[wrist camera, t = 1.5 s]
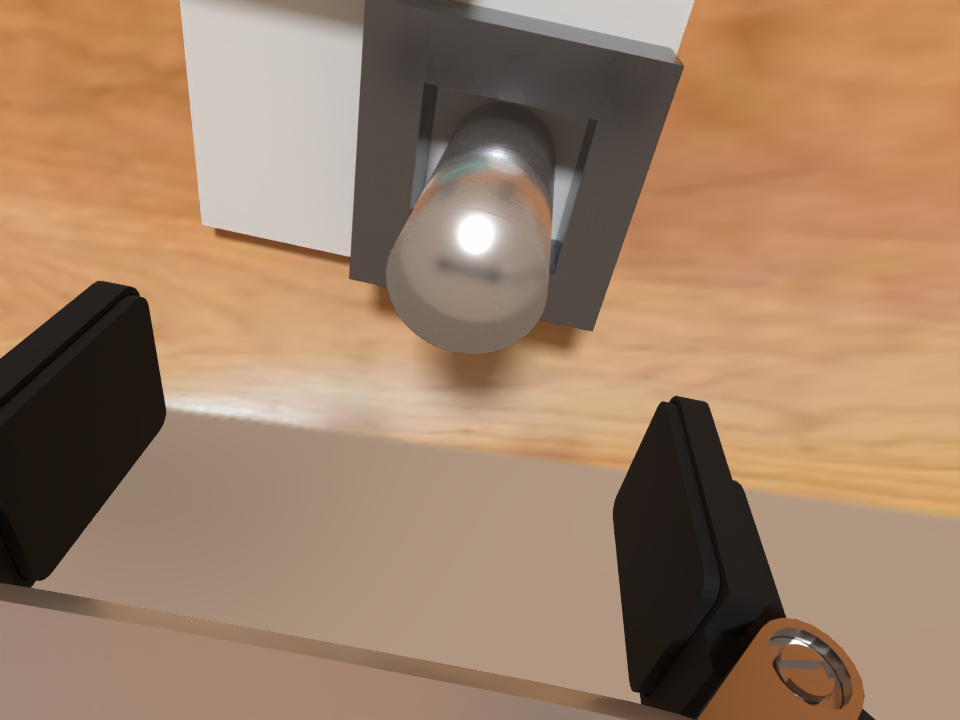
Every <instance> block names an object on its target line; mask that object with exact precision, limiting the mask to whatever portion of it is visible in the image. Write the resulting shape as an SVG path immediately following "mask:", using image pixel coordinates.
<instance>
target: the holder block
mask: <svg viewBox="0 0 960 720" xmlns="http://www.w3.org/2000/svg"><path fill="white" fill-rule="evenodd" d="M683 68H684V65H683V63H682V62H681V61H680V59H679V58H678V57H677V55H676V54H675V53H674V51H673V50H672V49H671V48H669V47H664V46H659V45H655V44H650V43H646V42H641V41H637V40H632V39H628V38H623V37H618V36H614V35H609V34H605V33H600V32H596V31H591V30H587V29H582V28H577V27H573V26H568V25H564V24H559V23H555V22H550V21H546V20H541V19H536V18H532V17H527V16H523V15H518V14H514V13H509V12H505V11H500V10H495V9H491V8H486V7H482V6H477V5H473V4H468V3H464V2H459V1H454V0H365V9H364V26H363V44H362V61H361V79H360V96H359V114H358V131H357V149H356V166H355V184H354V201H353V219H352V237H351V254H350V272H349V279H352V280H357V281H361V282H366V283H371V284H375V285H380V286H384V287H387V284H386V268H387V262H388V258H389V255H390V252H391V250H392V248H393V246H394V244H395V242H396V241H397V239H398V237H399V235H400V233H401V231H402V229H403V228H404V226H405V224H406V222H407V220H408V218H409V216H410V215H411V213H412V211H413V209H414V207H415V205H416V203H417V201H418V200H419V198H420V196H421V194H422V192H423V190H424V188H425V183H426V175H427V168H428V160H429V152H430V144H431V136H432V128H433V121H434V113H435V105H436V97H437V89H438V86H441V87H445V88H450V89H454V90H459V91H463V92H468V93H473V94H477V95H482V96H486V97H491V98H495V99H500V100H505V101H509V102H514V103H518V104H523V105H528V106H532V107H537V108H541V109H546V110H550V111H555V112H560V113H564V114H569V115H573V116H578V117H582V118H587V119H589V121H588V124H587V128H586V131H585V135H584V139H583V142H582V146H581V150H580V153H579V157H578V161H577V164H576V168H575V172H574V175H573V179H572V183H571V186H570V190H569V194H568V197H567V201H566V205H565V208H564V212H563V216H562V219H561V223H560V227H559V230H558V234H557V238H556V240H554V239H551V248H550V264H549V280H548V296H547V301H546V305H545V308H544V311H543V313H542V315H541V317H540V319H539V320H542V321H547V322H551V323H556V324H560V325H565V326H570V327H574V328H579V329H584V330H588V331H593V329H594V326H595V323H596V320H597V317H598V314H599V311H600V309H601V306H602V303H603V300H604V297H605V294H606V291H607V288H608V285H609V282H610V280H611V277H612V274H613V271H614V268H615V265H616V262H617V259H618V256H619V253H620V251H621V248H622V245H623V242H624V239H625V236H626V233H627V230H628V227H629V224H630V222H631V219H632V216H633V213H634V210H635V207H636V204H637V201H638V198H639V195H640V193H641V190H642V187H643V184H644V181H645V178H646V175H647V172H648V169H649V166H650V164H651V161H652V158H653V155H654V152H655V149H656V146H657V143H658V140H659V137H660V135H661V132H662V129H663V126H664V123H665V120H666V117H667V114H668V111H669V109H670V106H671V103H672V100H673V97H674V94H675V91H676V88H677V85H678V82H679V80H680V77H681V74H682V71H683Z"/></svg>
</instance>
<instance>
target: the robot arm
mask: <svg viewBox="0 0 960 720" xmlns="http://www.w3.org/2000/svg"><path fill="white" fill-rule="evenodd" d="M165 416H166V406H165V401H164V395H163V389H162V383H161V377H160V371H159V365H158V359H157V353H156V347H155V341H154V335H153V329H152V323H151V317H150V311H149V305H148V302H147V300H146V299H145V298H143V297H140V295H139V292H138V291H137V289H135V288H133V287H130V286H125V285H120V284H115V283H110V282H105V281H97V282H95V283H94V284H92V285H91V286H90V287H88V288H87V289H86V290H85V291H84V292H82V293H81V294H80V295H79V296H77V297H76V298H75V299H74V300H72V301H71V302H70V303H69V304H67V305H66V306H65V307H64V308H62V309H61V310H60V311H59V312H58V313H56V314H55V315H54V316H53V317H51V318H50V319H49V320H48V321H46V322H45V323H44V324H43V325H41V326H40V327H39V328H38V329H36V330H35V331H34V332H33V333H32V334H30V335H29V336H28V337H27V338H25V339H24V340H23V341H22V342H20V343H19V344H18V345H17V346H15V347H14V348H13V349H12V350H10V351H9V352H8V353H7V354H6V355H4V356H3V357H2V358H1V359H0V720H875V719H874V718H873V717H871V716H870V715H869V714H868V713H867V712H866V711H865V710H863V709H862V707H863V702H864V696H865V695H864V689H863V684H862V680H861V678H860V675H859V673H858V671H857V670H856V667H855V665H854V663H853V662H852V661H851V659H850V658H849V657H848V656H847V654H846V653H845V651H844V650H843V649H842V648H841V647H840V646H839V645H838V644H837V643H836V642H835V641H834V640H832V639H831V638H830V637H829V636H828V635H827V634H825V633H823V632H822V631H820V630H819V629H817V628H816V627H814V626H813V625H810V624H808V623H805V622H802V621H800V620H797V619H789V618H786V616H785V613H784V610H783V607H782V603H781V600H780V598H779V594H778V591H777V588H776V586H775V583H774V579H773V576H772V573H771V570H770V567H769V564H768V561H767V558H766V555H765V552H764V549H763V546H762V543H761V540H760V537H759V534H758V531H757V528H756V525H755V522H754V519H753V516H752V513H751V510H750V507H749V504H748V501H747V498H746V495H745V492H744V490H743V488H742V486H741V485H740V484H739V483H738V482H737V481H734V480H732V477H731V474H730V471H729V467H728V464H727V461H726V458H725V455H724V452H723V449H722V445H721V442H720V439H719V436H718V433H717V430H716V426H715V423H714V420H713V417H712V414H711V411H710V408H709V405H708V403H706V402H704V401H699V400H694V399H689V398H684V397H679V396H674V397H673V398H672V399H671V400H670V402H664V401H663V402H661V403H660V404H659V406H658V407H657V410H656V412H655V414H654V416H653V418H652V420H651V423H650V425H649V427H648V429H647V431H646V433H645V436H644V438H643V440H642V442H641V444H640V446H639V449H638V451H637V453H636V455H635V457H634V459H633V462H632V464H631V466H630V468H629V470H628V472H627V475H626V477H625V479H624V481H623V483H622V485H621V488H620V490H619V492H618V494H617V496H616V499H615V502H614V508H613V522H614V533H615V543H616V553H617V562H618V573H619V583H620V592H621V603H622V612H623V623H624V633H625V643H626V653H627V663H628V672H629V682H630V687H631V689H632V691H633V692H638V693H640V698H641V704H637V703H633V702H630V701H625V700H620V699H615V698H611V697H606V696H601V695H596V694H592V693H587V692H582V691H577V690H573V689H568V688H563V687H558V686H553V685H549V684H544V683H539V682H534V681H529V680H524V679H519V678H513V677H508V676H503V675H498V674H493V673H487V672H482V671H477V670H472V669H466V668H461V667H456V666H451V665H446V664H440V663H435V662H430V661H425V660H420V659H414V658H409V657H404V656H399V655H393V654H388V653H382V652H377V651H372V650H367V649H362V648H356V647H351V646H346V645H340V644H334V643H330V642H324V641H318V640H314V639H308V638H303V637H298V636H292V635H286V634H281V633H276V632H271V631H265V630H259V629H255V628H249V627H244V626H238V625H233V624H227V623H222V622H217V621H211V620H206V619H200V618H195V617H190V616H184V615H178V614H173V613H168V612H162V611H157V610H150V609H145V608H140V607H134V606H129V605H123V604H117V603H112V602H107V601H101V600H95V599H90V598H85V597H79V596H74V595H68V594H63V593H57V592H51V591H46V590H40V589H34V588H31V587H32V586H33V584H34V583H35V582H36V580H38V581H41V580H44V579H45V578H47V577H48V576H49V575H50V574H51V573H52V572H53V570H54V569H55V568H56V566H57V565H58V564H59V563H60V561H61V560H62V559H63V557H64V556H65V555H66V553H67V552H68V551H69V549H70V548H71V547H72V545H73V544H74V543H75V542H76V540H77V539H78V538H79V536H80V535H81V533H82V532H83V531H84V529H85V528H86V527H87V526H88V524H89V523H90V522H91V520H92V519H93V517H94V516H95V515H96V513H98V511H99V510H100V508H101V507H102V506H103V505H104V503H105V502H106V500H107V499H108V498H109V496H110V495H111V494H112V493H113V491H114V490H115V489H116V487H117V486H118V485H119V483H120V482H121V481H122V479H123V478H124V477H125V476H126V474H127V473H128V471H129V470H130V469H131V468H132V466H133V465H134V464H135V462H136V461H137V460H138V458H139V457H140V456H141V455H142V453H143V452H144V450H145V449H146V448H147V447H148V445H149V444H150V443H151V441H152V440H153V439H154V437H155V436H156V435H157V433H158V432H159V431H160V429H161V428H162V426H163V424H164V421H165Z"/></svg>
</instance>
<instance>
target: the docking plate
mask: <svg viewBox="0 0 960 720" xmlns="http://www.w3.org/2000/svg"><path fill="white" fill-rule="evenodd" d="M454 1H459V2H464V3H468V4H473V5H477V6H482V7H486V8H491V9H495V10H500V11H505V12H509V13H514V14H518V15H523V16H527V17H532V18H536V19H541V20H546V21H550V22H555V23H559V24H564V25H568V26H573V27H577V28H582V29H587V30H591V31H596V32H600V33H605V34H609V35H614V36H618V37H623V38H628V39H632V40H637V41H641V42H646V43H650V44H655V45H659V46H664V47H669V48H671V49H672V50H673V51H674V53H675V54H676V55H677V52H678V49H679V46H680V43H681V40H682V37H683V34H684V31H685V28H686V25H687V22H688V19H689V16H690V13H691V10H692V7H693V4H694V1H695V0H454ZM180 8H181V18H182V28H183V38H184V48H185V58H186V68H187V78H188V88H189V99H190V109H191V119H192V129H193V139H194V149H195V159H196V169H197V179H198V189H199V200H200V210H201V220H202V225H205V226H210V227H214V228H219V229H223V230H228V231H233V232H237V233H242V234H247V235H251V236H256V237H260V238H265V239H270V240H274V241H279V242H284V243H288V244H293V245H297V246H302V247H307V248H311V249H316V250H321V251H325V252H330V253H334V254H339V255H344V256H348V257H350V254H351V237H352V219H353V201H354V184H355V166H356V149H357V131H358V114H359V96H360V79H361V61H362V44H363V26H364V9H365V0H180ZM496 102H508V103H514V102H509V101H505V100H500V99H495V98H491V97H486V96H482V95H477V94H473V93H468V92H463V91H459V90H454V89H450V88H445V87H441V86H438V89H437V97H436V105H435V113H434V121H433V128H432V136H431V144H430V152H429V160H428V168H427V175H426V183H425V187H426V185H427V183H428V181H429V179H430V177H431V175H432V173H433V172H434V170H435V168H436V166H437V164H438V162H439V160H440V159H441V157H442V155H443V153H444V151H445V149H446V147H447V146H448V144H449V142H450V140H451V138H452V136H453V134H454V132H455V131H456V129H457V127H458V126H459V124H460V123H461V121H462V120H463V119H464V118H465V117H466V116H467V115H468V114H470V113H471V112H472V111H474V110H475V109H477V108H479V107H481V106H483V105H486V104H490V103H496ZM514 104H518V103H514ZM518 105H521V106H523V107H525V108H527V109H529V110H531V111H532V112H534V113H535V114H536V115H537V116H539V117H540V118H541V120H542V121H543V122H544V123H545V124H546V126H547V127H548V129H549V131H550V133H551V135H552V137H553V140H554V144H555V149H556V166H555V182H554V199H553V215H552V231H551V239H554V240H556V238H557V234H558V230H559V227H560V223H561V219H562V216H563V212H564V208H565V205H566V201H567V197H568V194H569V190H570V186H571V183H572V179H573V175H574V172H575V168H576V164H577V161H578V157H579V153H580V150H581V146H582V142H583V139H584V135H585V131H586V128H587V124H588V121H589V119H587V118H582V117H578V116H573V115H569V114H564V113H560V112H555V111H550V110H546V109H541V108H537V107H532V106H528V105H523V104H518Z"/></svg>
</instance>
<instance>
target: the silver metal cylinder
mask: <svg viewBox="0 0 960 720" xmlns="http://www.w3.org/2000/svg"><path fill="white" fill-rule="evenodd" d="M555 166H556V149H555V144H554V140H553V137H552V135H551V133H550V131H549V129H548V127H547V126H546V124H545V123H544V122H543V121H542V120H541V118H540V117H539V116H537V115H536V114H535V113H534V112H532V111H531V110H529V109H527V108H525V107H523V106H521V105H518V104H514V103H508V102H496V103H490V104H486V105H483V106H481V107H479V108H477V109H475V110H474V111H472V112H471V113H470V114H468V115H467V116H466V117H465V118H464V119H463V120H462V121H461V123H460V124H459V126H458V127H457V129H456V131H455V132H454V134H453V136H452V138H451V140H450V142H449V144H448V146H447V147H446V149H445V151H444V153H443V155H442V157H441V159H440V160H439V162H438V164H437V166H436V168H435V170H434V172H433V173H432V175H431V177H430V179H429V181H428V183H427V185H426V187H425V188H424V190H423V192H422V194H421V196H420V198H419V200H418V201H417V203H416V205H415V207H414V209H413V211H412V213H411V215H410V216H409V218H408V220H407V222H406V224H405V226H404V228H403V229H402V231H401V233H400V235H399V237H398V239H397V241H396V242H395V244H394V246H393V248H392V250H391V252H390V255H389V258H388V262H387V268H386V284H387V290H388V294H389V298H390V300H391V303H392V305H393V307H394V309H395V311H396V312H397V314H398V316H399V317H400V318H401V320H402V321H403V322H404V323H405V324H406V325H407V327H408V328H409V329H410V330H411V331H413V332H414V333H415V334H416V335H417V336H419V337H420V338H422V339H423V340H425V341H426V342H428V343H430V344H432V345H434V346H437V347H439V348H442V349H444V350H448V351H452V352H456V353H463V354H484V353H490V352H494V351H498V350H501V349H504V348H506V347H509V346H511V345H513V344H514V343H516V342H518V341H519V340H521V339H522V338H523V337H524V336H526V335H527V334H528V333H529V332H530V331H531V330H532V329H533V327H534V326H535V325H536V323H537V322H538V321H539V319H540V317H541V315H542V313H543V311H544V308H545V305H546V301H547V296H548V280H549V264H550V248H551V231H552V215H553V199H554V182H555Z"/></svg>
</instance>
